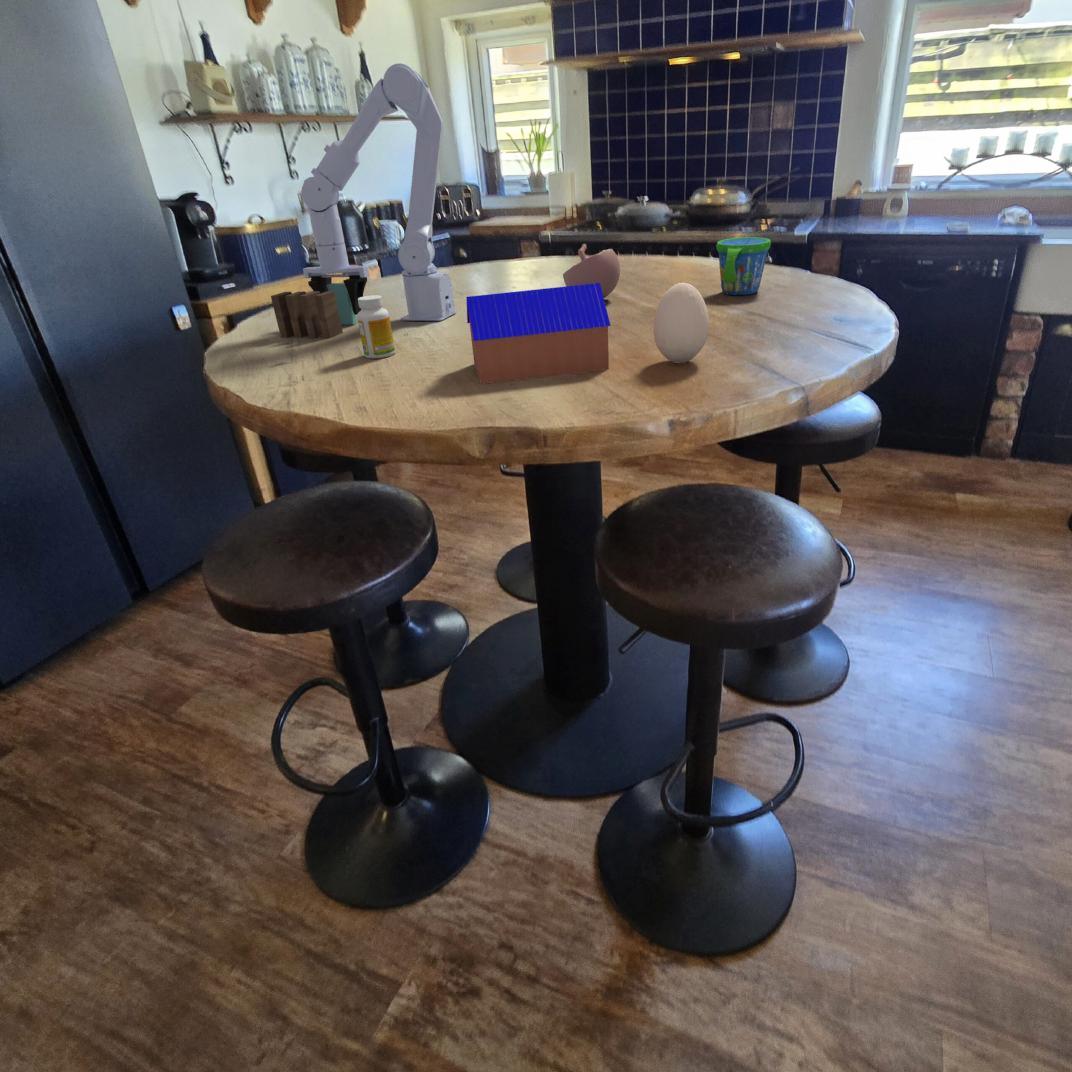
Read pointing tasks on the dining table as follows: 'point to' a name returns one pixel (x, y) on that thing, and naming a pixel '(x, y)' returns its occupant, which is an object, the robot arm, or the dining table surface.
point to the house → (539, 332)
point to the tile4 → (296, 314)
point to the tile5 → (282, 314)
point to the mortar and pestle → (595, 270)
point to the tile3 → (311, 314)
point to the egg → (681, 323)
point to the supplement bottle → (375, 328)
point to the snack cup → (742, 264)
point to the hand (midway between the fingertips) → (344, 313)
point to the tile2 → (328, 314)
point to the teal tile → (343, 303)
